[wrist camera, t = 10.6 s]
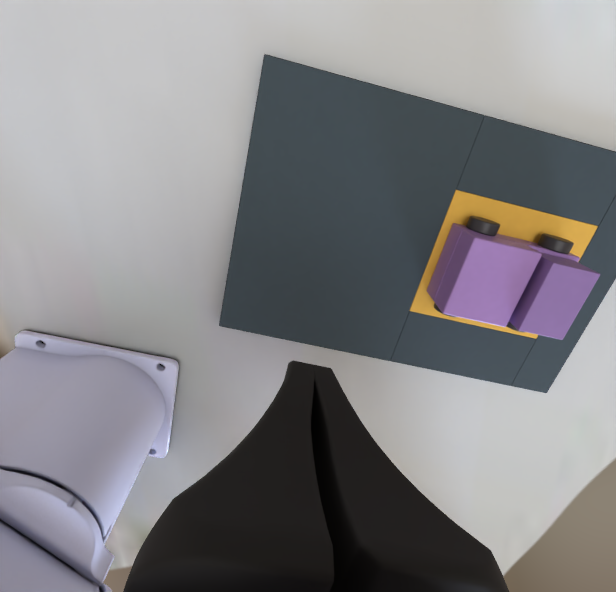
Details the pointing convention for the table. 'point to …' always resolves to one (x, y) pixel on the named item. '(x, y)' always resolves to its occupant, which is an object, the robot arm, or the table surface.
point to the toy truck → (510, 279)
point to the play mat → (402, 222)
